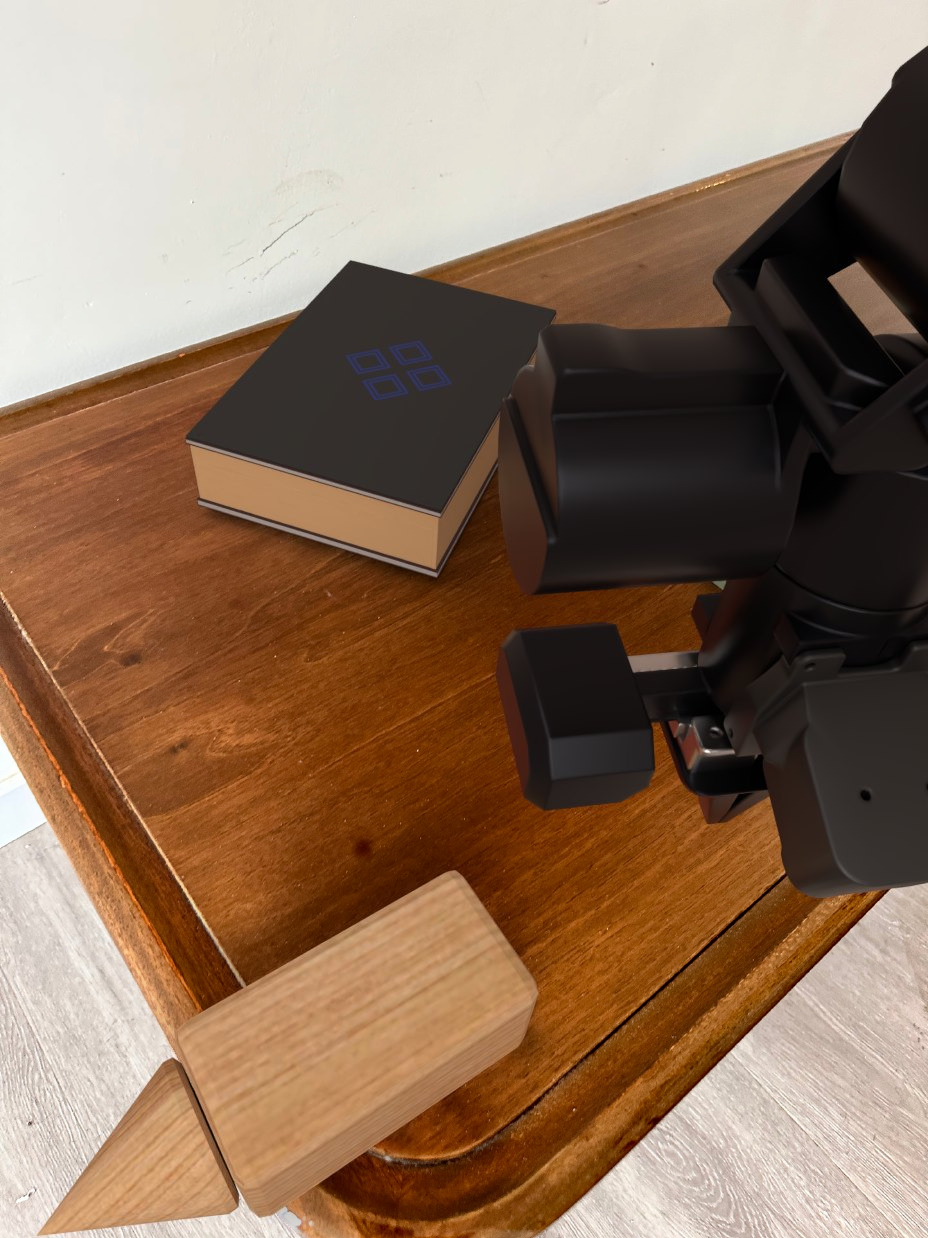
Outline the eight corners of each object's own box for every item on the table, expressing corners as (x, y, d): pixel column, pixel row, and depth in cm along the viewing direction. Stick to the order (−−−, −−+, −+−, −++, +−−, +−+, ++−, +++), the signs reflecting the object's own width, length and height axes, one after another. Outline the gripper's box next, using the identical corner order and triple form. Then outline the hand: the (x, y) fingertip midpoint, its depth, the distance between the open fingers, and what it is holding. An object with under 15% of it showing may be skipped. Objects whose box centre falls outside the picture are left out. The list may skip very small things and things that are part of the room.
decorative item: (457, 859, 41) (-18, 1129, 33) (547, 988, 38) (40, 1326, 30) (449, 923, 46) (34, 1172, 38) (528, 1043, 43) (89, 1345, 35)
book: (199, 514, 65) (183, 435, 60) (351, 333, 81) (349, 259, 76) (436, 587, 61) (441, 510, 56) (546, 383, 77) (557, 309, 72)
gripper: (615, 819, 21) (532, 1049, 33) (1330, 737, 24) (1018, 975, 35) (516, 488, 28) (477, 773, 40) (1073, 456, 31) (885, 731, 43)
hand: (711, 813), depth 39 cm, fingers closed
